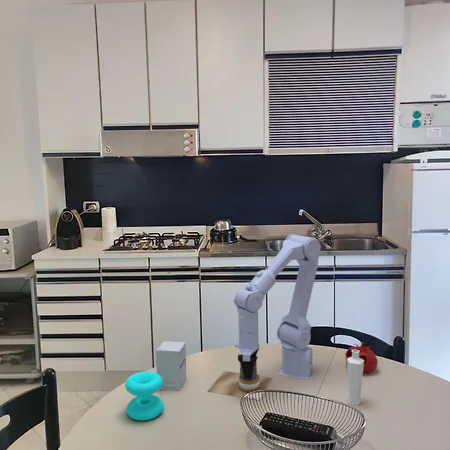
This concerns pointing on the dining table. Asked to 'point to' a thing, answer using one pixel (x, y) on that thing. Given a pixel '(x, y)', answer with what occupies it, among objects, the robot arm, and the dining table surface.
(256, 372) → the cap
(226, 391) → the board
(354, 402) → the perfume bottle
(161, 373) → the supplement box
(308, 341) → the robot arm
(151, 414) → the donuts
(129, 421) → the dining table surface
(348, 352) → the pomegranate
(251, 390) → the jar
